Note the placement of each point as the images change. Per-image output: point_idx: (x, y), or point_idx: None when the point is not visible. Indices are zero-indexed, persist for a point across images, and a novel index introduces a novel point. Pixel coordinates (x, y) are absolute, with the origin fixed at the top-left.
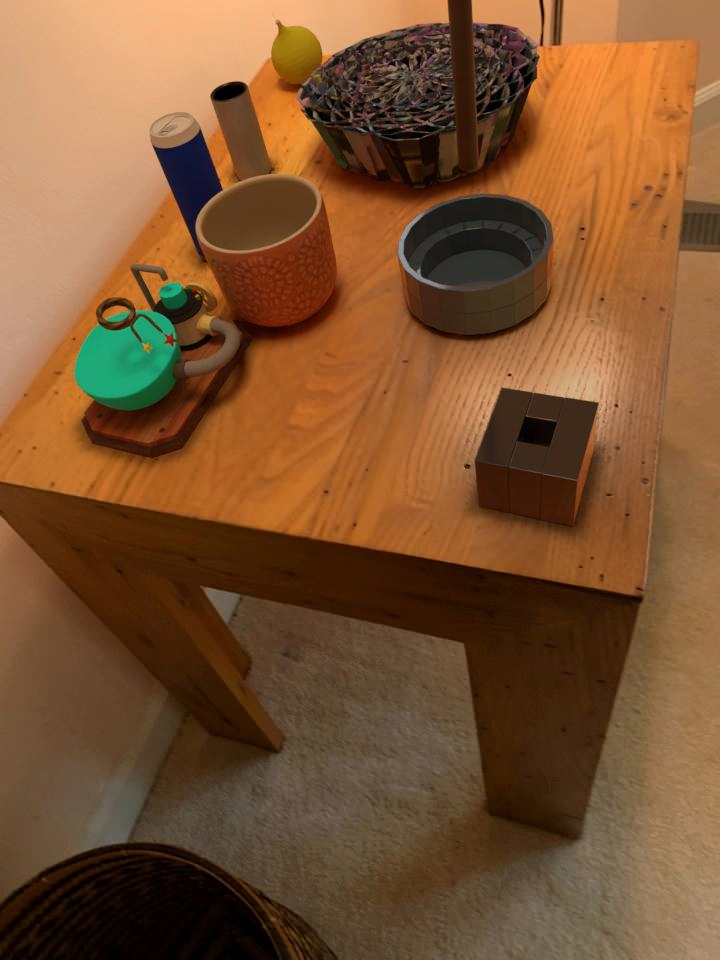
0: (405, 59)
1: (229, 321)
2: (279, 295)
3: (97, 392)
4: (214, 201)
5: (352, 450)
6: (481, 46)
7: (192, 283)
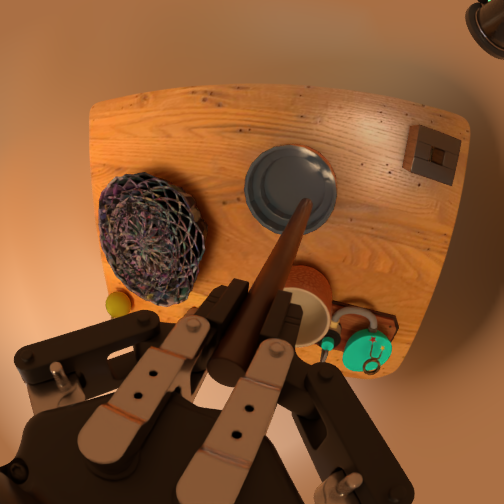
0: (128, 251)
1: None
2: (330, 294)
3: (387, 358)
4: None
5: (407, 240)
6: (116, 209)
7: None
